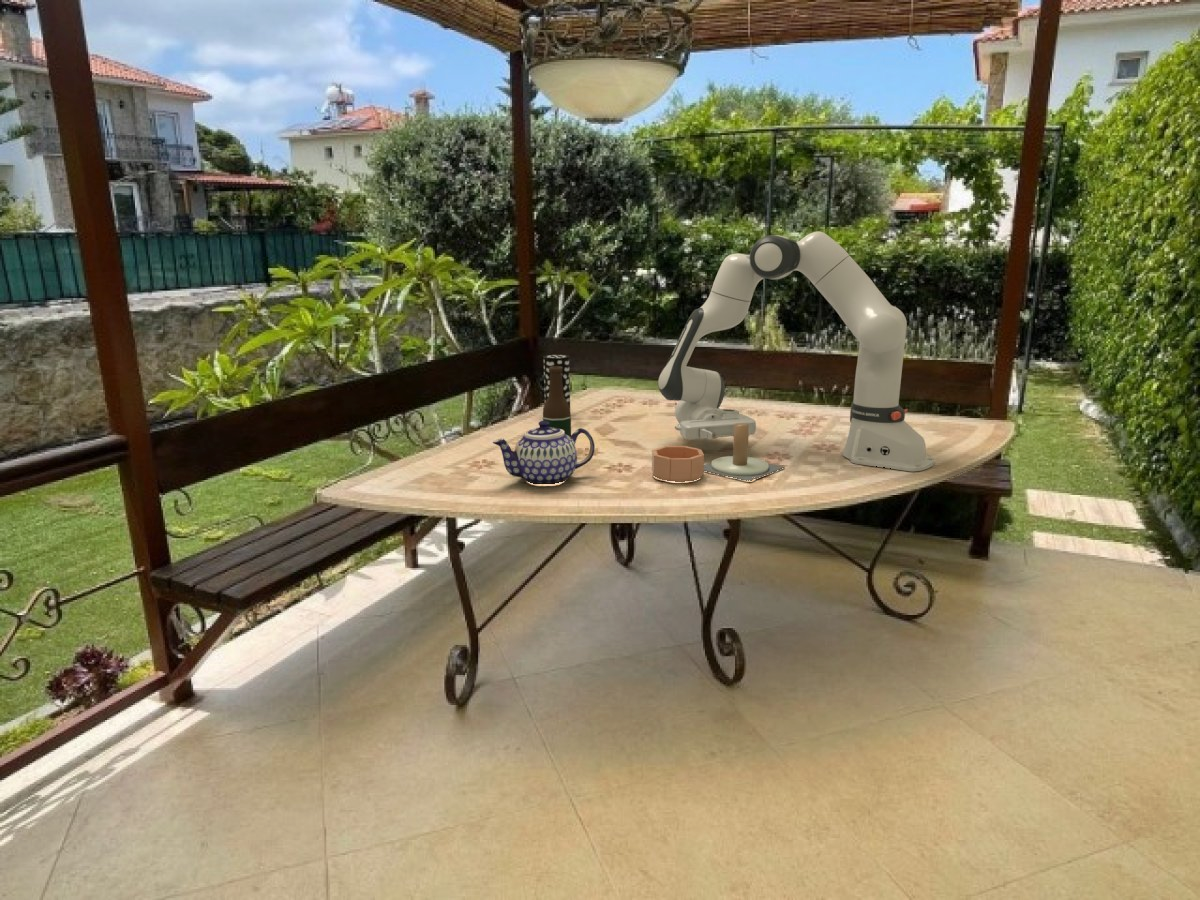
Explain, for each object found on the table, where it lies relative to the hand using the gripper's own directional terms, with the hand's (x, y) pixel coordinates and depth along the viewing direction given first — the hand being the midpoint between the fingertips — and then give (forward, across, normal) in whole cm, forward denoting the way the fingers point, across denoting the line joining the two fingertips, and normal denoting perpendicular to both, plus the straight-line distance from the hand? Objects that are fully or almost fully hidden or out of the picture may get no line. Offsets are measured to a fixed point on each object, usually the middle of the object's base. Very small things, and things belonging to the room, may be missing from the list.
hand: (730, 435), depth 190 cm
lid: (+6, 0, +7) cm, 9 cm away
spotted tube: (-66, -30, +7) cm, 72 cm away
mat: (+6, 0, +7) cm, 10 cm away
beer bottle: (-20, -41, +7) cm, 46 cm away
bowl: (+7, -17, +7) cm, 20 cm away
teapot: (+1, -48, +8) cm, 49 cm away
